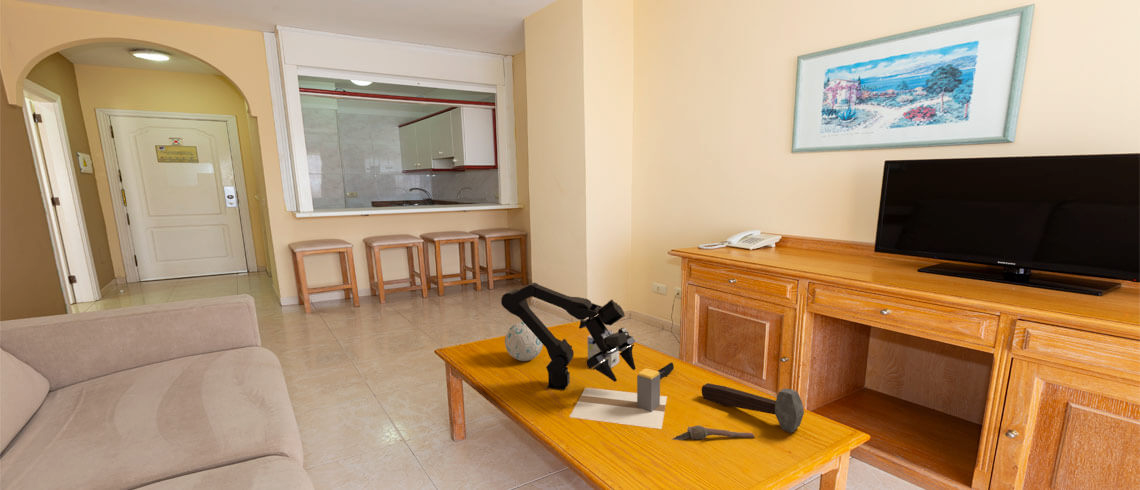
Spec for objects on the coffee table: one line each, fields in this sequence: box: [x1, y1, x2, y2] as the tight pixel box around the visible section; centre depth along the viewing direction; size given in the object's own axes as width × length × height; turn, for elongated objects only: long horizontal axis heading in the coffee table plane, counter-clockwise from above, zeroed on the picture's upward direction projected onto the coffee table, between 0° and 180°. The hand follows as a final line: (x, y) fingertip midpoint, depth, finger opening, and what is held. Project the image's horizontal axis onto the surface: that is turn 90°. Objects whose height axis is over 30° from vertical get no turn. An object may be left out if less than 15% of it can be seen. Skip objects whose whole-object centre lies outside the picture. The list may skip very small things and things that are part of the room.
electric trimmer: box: [657, 362, 675, 380], centre depth 166 cm, size 4×16×3 cm, turn 142°
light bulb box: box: [587, 334, 620, 369], centre depth 178 cm, size 11×7×11 cm, turn 58°
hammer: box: [701, 382, 805, 434], centre depth 138 cm, size 5×11×30 cm
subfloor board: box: [568, 387, 668, 430], centre depth 143 cm, size 27×20×1 cm
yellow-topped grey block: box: [636, 367, 661, 412], centre depth 142 cm, size 5×5×11 cm
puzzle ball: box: [504, 321, 544, 362], centre depth 183 cm, size 15×15×15 cm
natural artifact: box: [671, 425, 755, 441], centre depth 126 cm, size 4×23×4 cm
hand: (625, 375), depth 148 cm, fingers open, 9 cm apart
